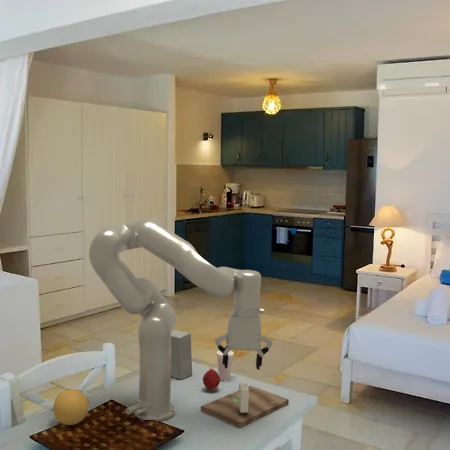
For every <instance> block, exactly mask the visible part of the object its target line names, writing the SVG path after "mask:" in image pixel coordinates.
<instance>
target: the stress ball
mask: <svg viewBox="0 0 450 450" xmlns="http://www.w3.org/2000/svg"><path fill="white" fill-rule="evenodd" d="M89 404H90V402H89V399H88V397H87V396H86V395H85V394H84V392H83V391H81V390H79V389H74V388H67V389H65V390H64V391H62V392H60V393H58V395H57V396H56V397H55V399H54V401H53V406H52V412H53V415H54V417H55V419H56V420H57V421H58V422H59V423H61V424H62V425H65V426H68V425H73V426H75V425H77V424H78V423H80V422H81V421H83V420H84V419H85V417H86V416H87V413H88V412H89ZM74 424H75V425H74Z"/></svg>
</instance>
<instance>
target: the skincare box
mask: <svg viewBox="0 0 450 450" xmlns="http://www.w3.org/2000/svg"><path fill="white" fill-rule="evenodd" d="M191 334H192V333H191V332H187V331H182V330H181V331H180V330H177V329H173V330H172V332H171V378H174V379H178V380H183V379H185V378H187V377H190V376H193V363H192V361H193V360H192V359H193V358H192V335H191Z"/></svg>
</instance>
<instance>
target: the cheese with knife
mask: <svg viewBox="0 0 450 450" xmlns="http://www.w3.org/2000/svg"><path fill="white" fill-rule="evenodd" d="M248 386H249V385H248V383H247V381H239V382H238V390H239V395H238V399H239V400H238V404H239V407H238V413H240V414H247V413H248V399H249V389H248Z"/></svg>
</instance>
